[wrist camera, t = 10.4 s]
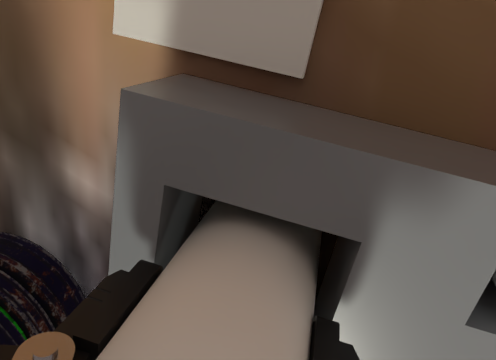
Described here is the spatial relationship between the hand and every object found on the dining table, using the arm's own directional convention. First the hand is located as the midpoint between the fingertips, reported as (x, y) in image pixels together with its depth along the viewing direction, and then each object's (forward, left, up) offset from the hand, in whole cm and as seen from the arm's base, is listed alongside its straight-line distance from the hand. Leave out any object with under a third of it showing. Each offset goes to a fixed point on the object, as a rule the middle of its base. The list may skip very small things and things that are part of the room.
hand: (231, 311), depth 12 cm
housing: (+4, 0, -6) cm, 7 cm away
